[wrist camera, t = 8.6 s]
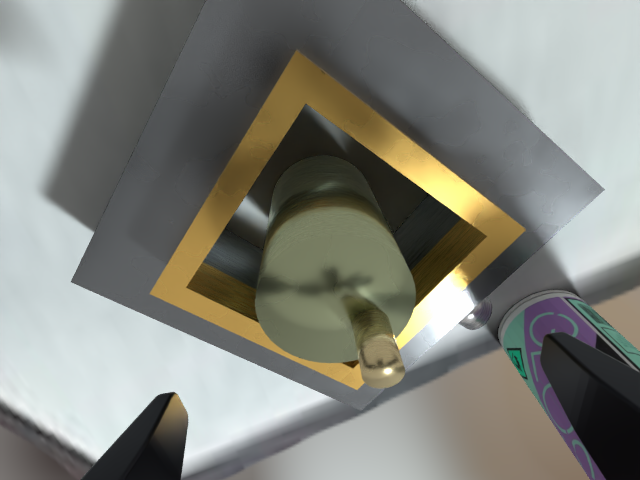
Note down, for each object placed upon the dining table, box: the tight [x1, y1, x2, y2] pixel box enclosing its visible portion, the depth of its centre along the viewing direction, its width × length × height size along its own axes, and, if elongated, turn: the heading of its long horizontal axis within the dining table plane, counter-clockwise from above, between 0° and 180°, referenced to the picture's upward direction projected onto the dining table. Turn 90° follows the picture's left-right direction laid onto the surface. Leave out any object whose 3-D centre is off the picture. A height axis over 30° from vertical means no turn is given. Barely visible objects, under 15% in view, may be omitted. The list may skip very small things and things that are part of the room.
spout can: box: [255, 155, 416, 388], centre depth 14 cm, size 5×5×10 cm
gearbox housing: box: [71, 0, 605, 410], centre depth 16 cm, size 18×16×6 cm
